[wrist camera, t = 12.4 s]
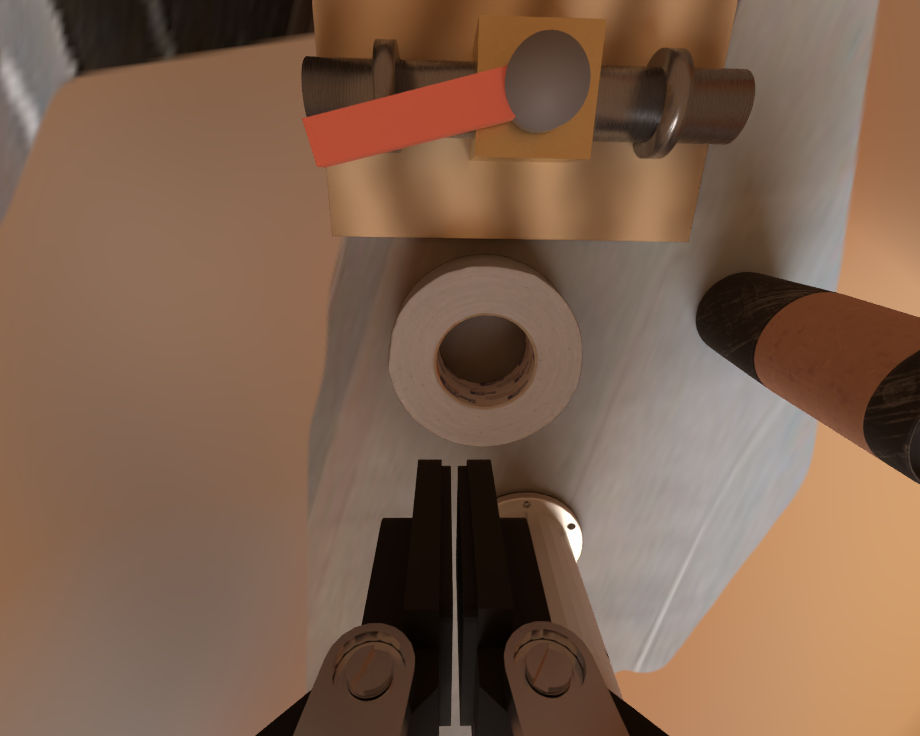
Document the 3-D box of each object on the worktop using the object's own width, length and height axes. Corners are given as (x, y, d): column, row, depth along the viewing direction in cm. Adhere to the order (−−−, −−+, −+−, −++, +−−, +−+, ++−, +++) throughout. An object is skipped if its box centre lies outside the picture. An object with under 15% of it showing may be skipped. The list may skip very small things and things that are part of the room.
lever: (571, 34, 25) (585, 19, 23) (581, 123, 27) (594, 117, 24) (307, 103, 26) (292, 96, 24) (332, 185, 28) (321, 185, 25)
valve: (718, 58, 32) (793, 25, 25) (697, 166, 35) (759, 163, 28) (319, 46, 31) (283, 8, 24) (328, 158, 34) (298, 152, 27)
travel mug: (688, 358, 41) (886, 504, 23) (695, 273, 38) (930, 362, 20) (774, 348, 41) (1043, 488, 22) (788, 263, 38) (1110, 342, 20)
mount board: (738, -41, 30) (747, -48, 29) (682, 240, 37) (688, 241, 36) (310, -56, 29) (306, -64, 28) (335, 234, 36) (332, 236, 35)
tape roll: (369, 383, 41) (359, 409, 37) (434, 222, 36) (432, 228, 32) (520, 440, 44) (529, 471, 39) (600, 298, 39) (621, 314, 34)
